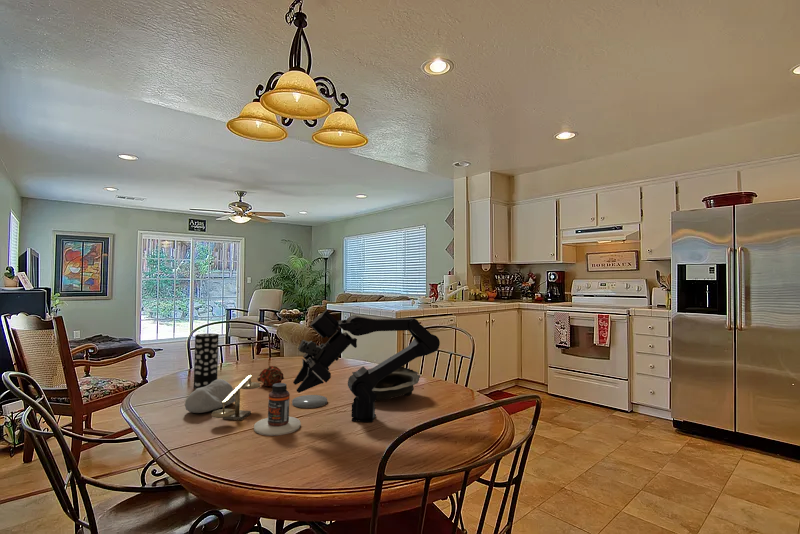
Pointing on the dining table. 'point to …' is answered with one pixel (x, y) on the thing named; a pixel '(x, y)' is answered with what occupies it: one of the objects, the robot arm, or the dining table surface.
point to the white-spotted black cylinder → (205, 359)
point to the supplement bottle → (278, 405)
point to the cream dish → (276, 427)
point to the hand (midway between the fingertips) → (295, 387)
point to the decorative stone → (209, 397)
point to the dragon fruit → (271, 376)
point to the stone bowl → (396, 384)
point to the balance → (236, 402)
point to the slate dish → (309, 401)
